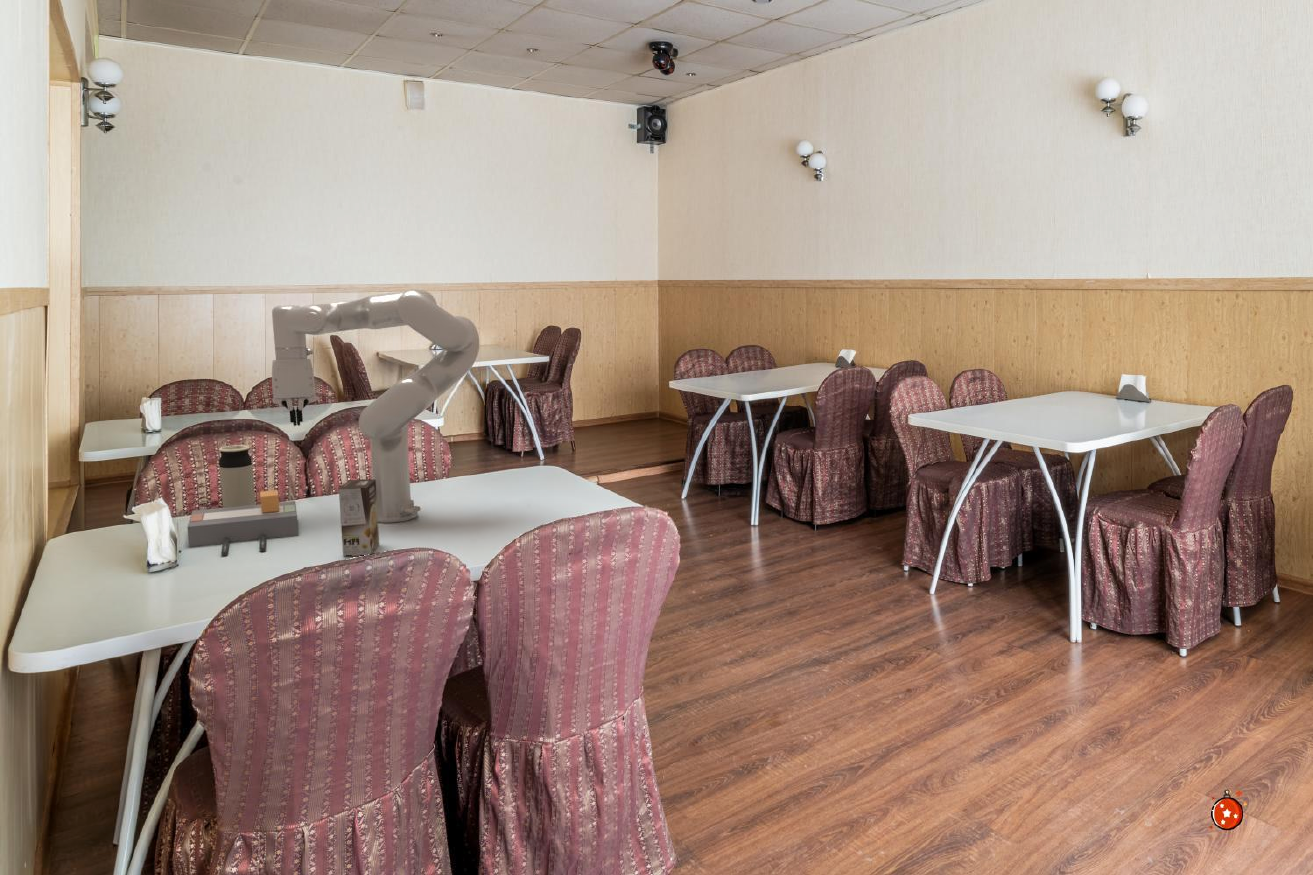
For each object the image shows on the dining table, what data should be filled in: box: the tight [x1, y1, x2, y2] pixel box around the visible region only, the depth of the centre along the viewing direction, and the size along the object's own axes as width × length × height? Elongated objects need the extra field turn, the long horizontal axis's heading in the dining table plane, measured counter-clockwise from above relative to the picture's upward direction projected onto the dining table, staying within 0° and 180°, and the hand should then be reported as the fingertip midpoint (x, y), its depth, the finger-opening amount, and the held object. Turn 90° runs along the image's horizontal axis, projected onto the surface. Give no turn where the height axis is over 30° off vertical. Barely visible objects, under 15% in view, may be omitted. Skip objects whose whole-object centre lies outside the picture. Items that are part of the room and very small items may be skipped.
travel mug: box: [218, 444, 257, 508], centre depth 237 cm, size 8×8×18 cm
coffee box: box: [338, 478, 380, 557], centre depth 203 cm, size 9×6×16 cm
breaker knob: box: [260, 489, 280, 512], centre depth 221 cm, size 4×6×4 cm, turn 23°
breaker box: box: [186, 500, 299, 557], centre depth 214 cm, size 24×27×5 cm
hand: (296, 424), depth 228 cm, fingers closed
